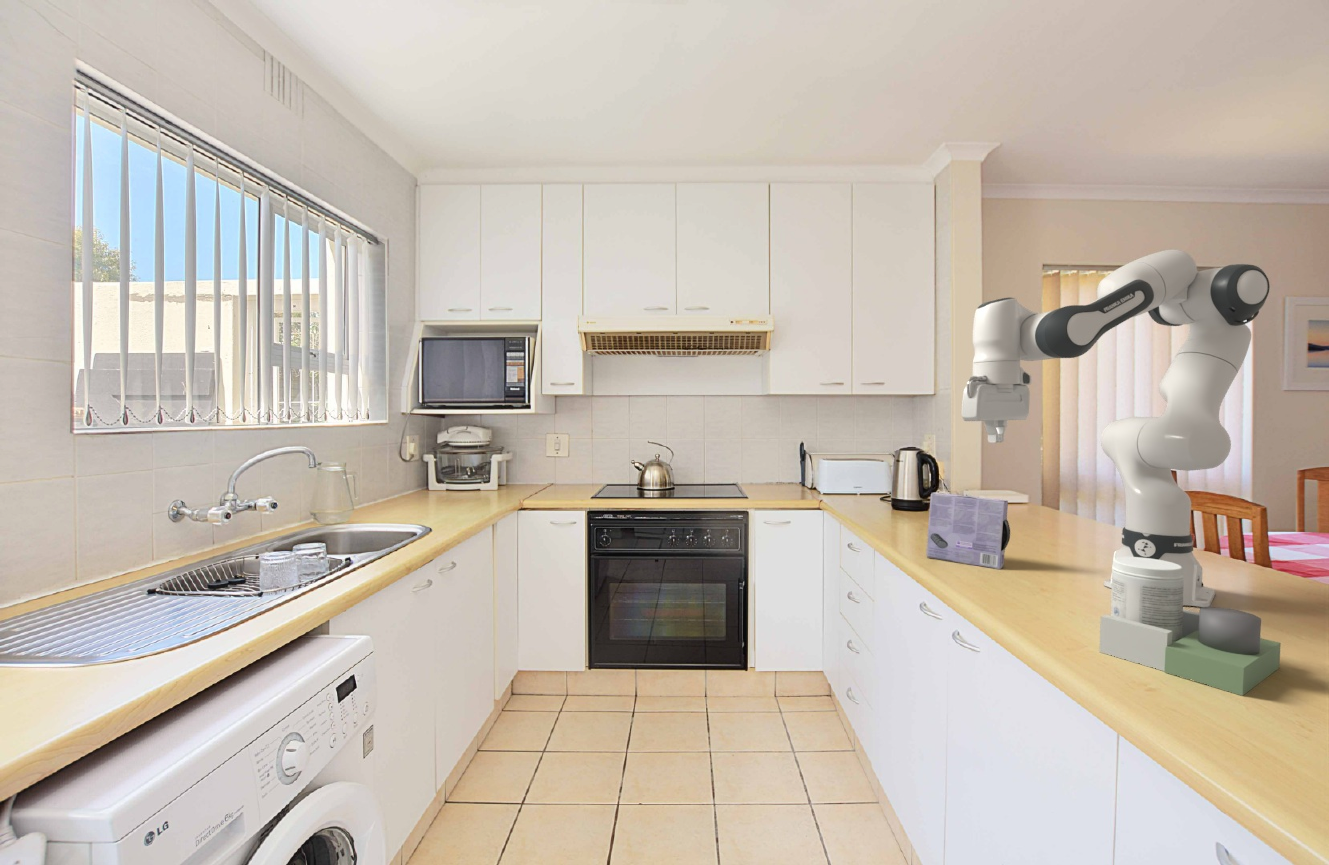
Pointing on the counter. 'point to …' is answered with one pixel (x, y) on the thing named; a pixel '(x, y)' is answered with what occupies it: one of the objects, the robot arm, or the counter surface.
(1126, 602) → the supplement tub
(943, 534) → the cake pan box
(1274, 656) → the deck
